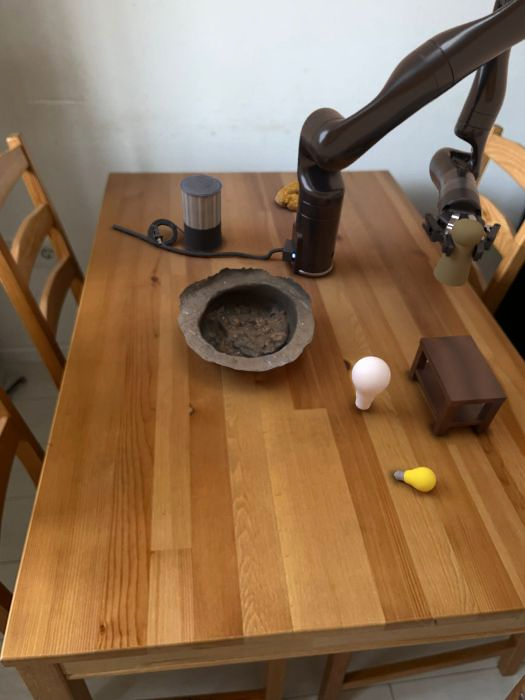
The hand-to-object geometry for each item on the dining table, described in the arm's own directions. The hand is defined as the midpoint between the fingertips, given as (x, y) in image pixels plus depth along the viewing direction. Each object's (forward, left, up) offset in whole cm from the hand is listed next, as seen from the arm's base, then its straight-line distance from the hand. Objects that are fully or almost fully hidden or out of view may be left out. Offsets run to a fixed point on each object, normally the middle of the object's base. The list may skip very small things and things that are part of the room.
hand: (463, 254), depth 87 cm
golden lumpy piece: (-18, +53, -20) cm, 60 cm away
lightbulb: (-18, -16, -20) cm, 31 cm away
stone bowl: (-36, +1, -20) cm, 41 cm away
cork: (+1, +3, -7) cm, 7 cm away
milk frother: (-47, +36, -20) cm, 63 cm away
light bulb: (-14, -31, -20) cm, 39 cm away
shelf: (-3, -16, -20) cm, 25 cm away
